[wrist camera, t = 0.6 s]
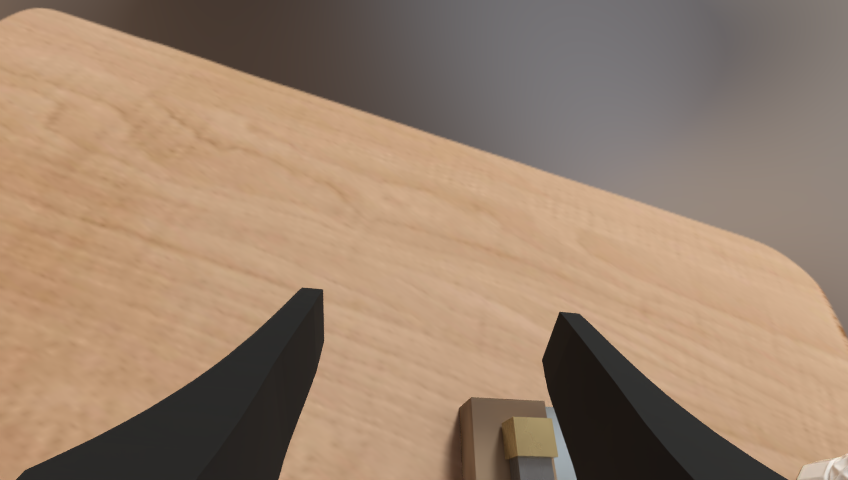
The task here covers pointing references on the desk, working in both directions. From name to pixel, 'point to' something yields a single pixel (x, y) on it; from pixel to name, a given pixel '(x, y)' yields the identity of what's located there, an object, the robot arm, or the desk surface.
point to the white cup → (826, 469)
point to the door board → (484, 437)
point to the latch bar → (530, 447)
